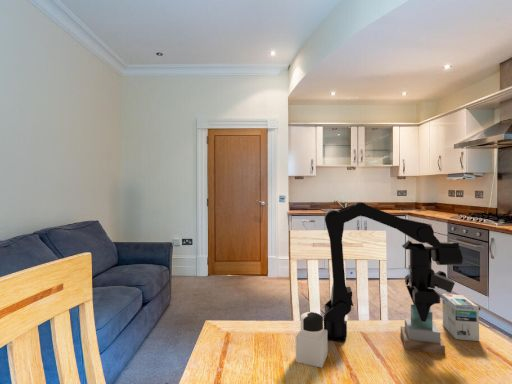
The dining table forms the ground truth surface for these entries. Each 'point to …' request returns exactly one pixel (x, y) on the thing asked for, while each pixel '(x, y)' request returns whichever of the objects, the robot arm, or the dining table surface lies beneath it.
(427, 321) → the teal block
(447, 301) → the light bulb box
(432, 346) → the walnut slab
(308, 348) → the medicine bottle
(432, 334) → the grey slab
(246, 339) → the dining table surface
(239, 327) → the dining table surface
